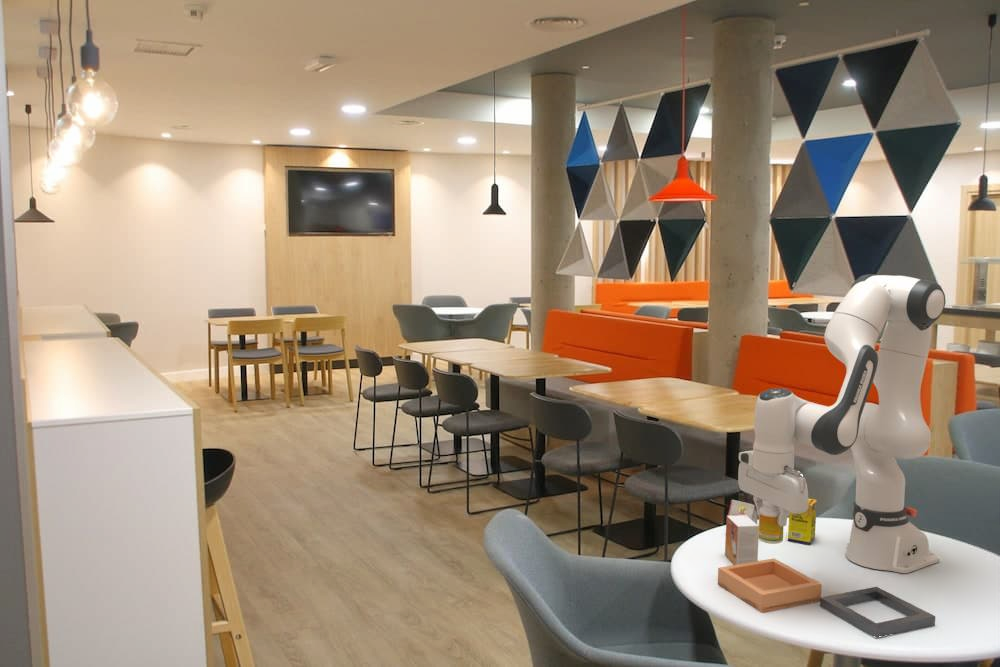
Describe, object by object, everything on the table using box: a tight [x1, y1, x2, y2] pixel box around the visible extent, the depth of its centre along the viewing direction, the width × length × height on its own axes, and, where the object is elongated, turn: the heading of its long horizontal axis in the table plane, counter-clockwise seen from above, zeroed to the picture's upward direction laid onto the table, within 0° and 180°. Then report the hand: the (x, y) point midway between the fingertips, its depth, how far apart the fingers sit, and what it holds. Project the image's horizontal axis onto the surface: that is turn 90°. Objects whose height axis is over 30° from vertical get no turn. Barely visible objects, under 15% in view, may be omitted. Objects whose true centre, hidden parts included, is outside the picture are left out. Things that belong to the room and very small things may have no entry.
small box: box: [724, 515, 759, 565], centre depth 211 cm, size 8×6×10 cm
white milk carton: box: [727, 499, 758, 525], centre depth 227 cm, size 4×7×10 cm, turn 45°
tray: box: [717, 557, 822, 613], centre depth 193 cm, size 16×16×4 cm
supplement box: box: [787, 498, 818, 546], centre depth 225 cm, size 6×6×11 cm
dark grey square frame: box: [819, 586, 936, 637], centre depth 181 cm, size 16×16×2 cm
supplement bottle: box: [758, 499, 784, 545], centre depth 191 cm, size 5×5×10 cm
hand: (771, 520), depth 191 cm, fingers closed on supplement bottle, 5 cm apart
